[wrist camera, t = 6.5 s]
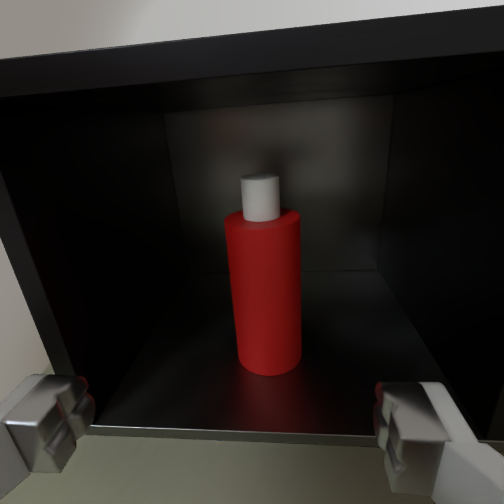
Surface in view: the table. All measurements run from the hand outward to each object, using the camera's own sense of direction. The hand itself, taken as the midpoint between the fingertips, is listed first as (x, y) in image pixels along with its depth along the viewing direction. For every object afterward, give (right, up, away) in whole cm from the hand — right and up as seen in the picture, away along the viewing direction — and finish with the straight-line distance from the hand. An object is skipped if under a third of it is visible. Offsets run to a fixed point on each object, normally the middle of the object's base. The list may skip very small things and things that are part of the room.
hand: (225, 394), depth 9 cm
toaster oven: (+7, -4, +25) cm, 26 cm away
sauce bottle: (+2, -5, +20) cm, 21 cm away
